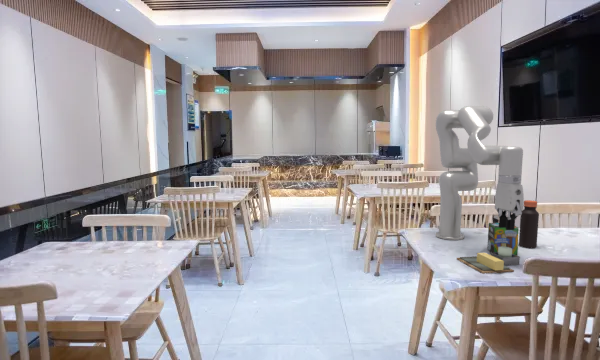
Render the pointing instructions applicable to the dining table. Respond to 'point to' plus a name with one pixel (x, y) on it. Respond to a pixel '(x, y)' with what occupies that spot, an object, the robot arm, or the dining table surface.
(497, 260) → the chalk stick
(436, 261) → the dining table surface
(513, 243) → the chalk box
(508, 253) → the button cap
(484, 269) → the slate board
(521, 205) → the robot arm
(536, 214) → the bottle
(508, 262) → the button housing
